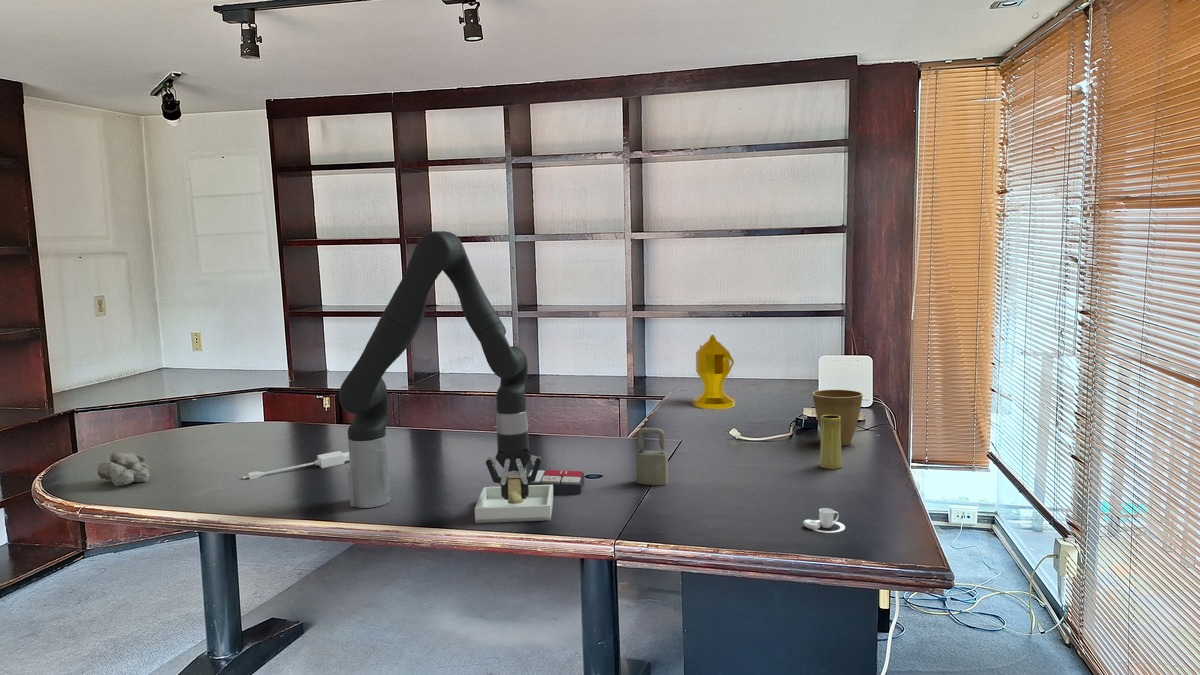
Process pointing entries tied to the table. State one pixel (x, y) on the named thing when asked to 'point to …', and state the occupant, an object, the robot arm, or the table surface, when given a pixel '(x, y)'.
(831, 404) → the plant pot
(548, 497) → the tray
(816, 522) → the teacup and saucer
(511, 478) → the cylinder
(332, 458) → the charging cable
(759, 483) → the table surface
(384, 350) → the robot arm
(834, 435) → the vase
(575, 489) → the calculator
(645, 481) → the padlock
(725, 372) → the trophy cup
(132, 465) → the mineral
